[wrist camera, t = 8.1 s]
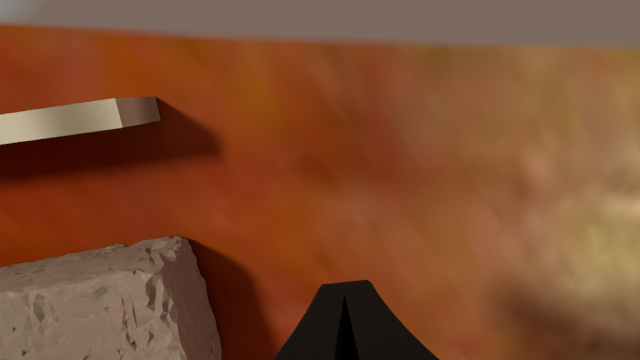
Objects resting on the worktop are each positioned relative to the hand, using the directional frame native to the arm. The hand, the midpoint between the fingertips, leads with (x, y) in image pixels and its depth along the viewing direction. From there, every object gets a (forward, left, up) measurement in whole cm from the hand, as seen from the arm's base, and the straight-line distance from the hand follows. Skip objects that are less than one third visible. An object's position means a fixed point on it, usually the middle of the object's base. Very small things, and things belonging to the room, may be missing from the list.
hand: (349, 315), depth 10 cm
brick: (+16, +5, -10) cm, 20 cm away
